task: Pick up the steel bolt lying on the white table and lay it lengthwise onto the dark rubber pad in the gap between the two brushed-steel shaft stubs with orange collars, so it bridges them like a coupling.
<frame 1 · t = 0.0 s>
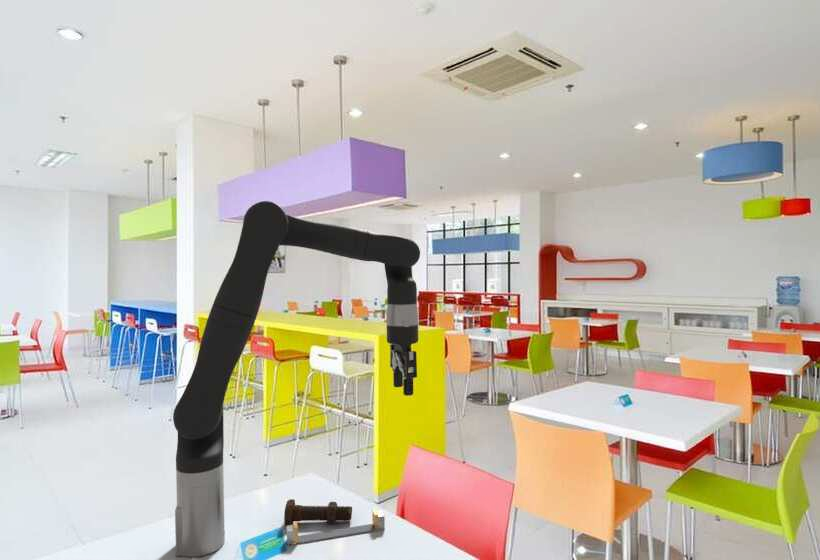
hand: (403, 390, 120), 29 cm above the table, tool pointing down, fingers open, 8 cm apart
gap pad: (336, 534, 111), on the table
bolt: (319, 524, 116), on the table
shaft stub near: (292, 541, 108), on the table
shaft stub far: (378, 527, 114), on the table
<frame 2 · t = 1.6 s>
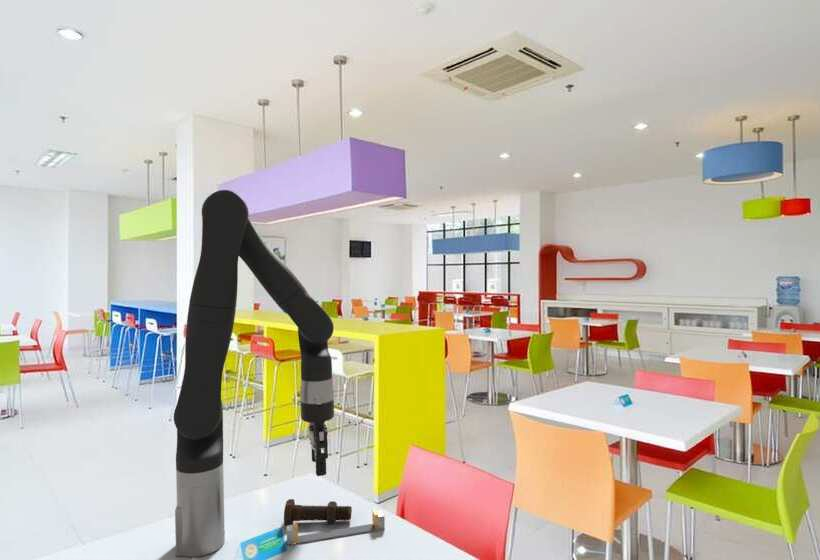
hand: (318, 467, 116), 13 cm above the table, tool pointing down, fingers open, 8 cm apart
nothing on the table moved.
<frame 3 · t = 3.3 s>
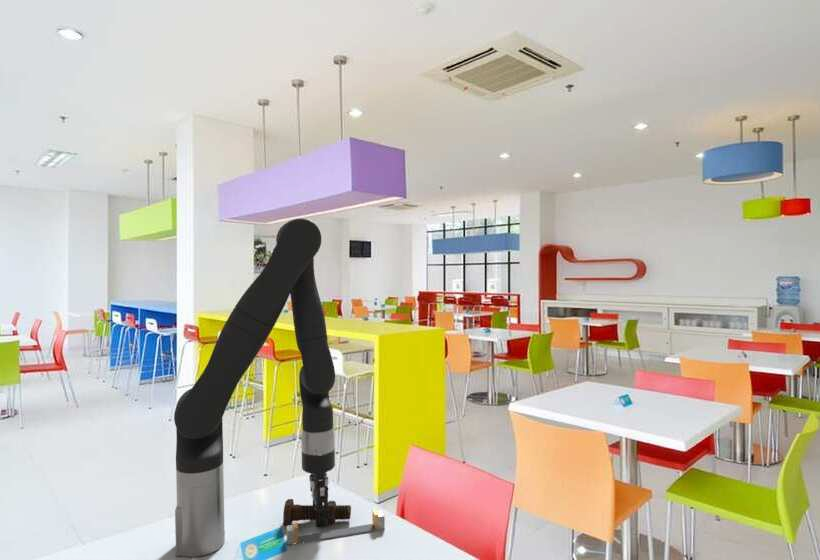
hand: (319, 519, 116), 1 cm above the table, tool pointing down, fingers closed on bolt, 5 cm apart
bolt: (318, 523, 116), on the table, touching gripper
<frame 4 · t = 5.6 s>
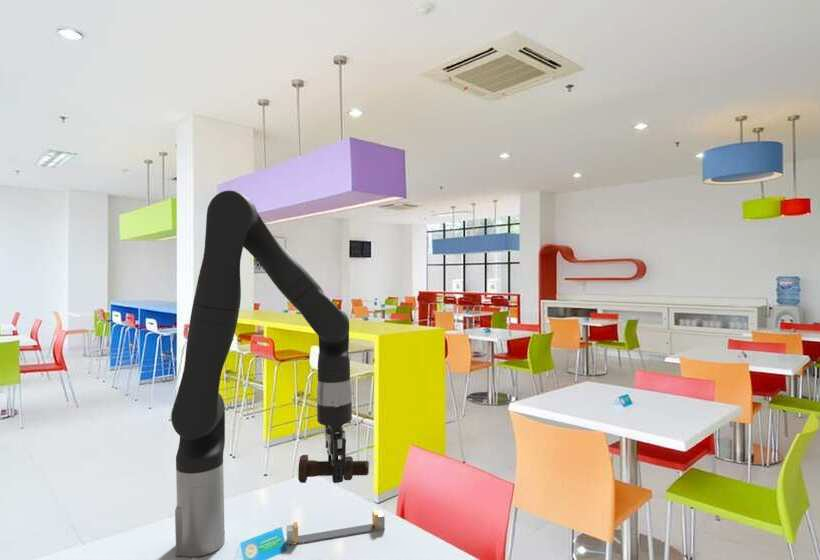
hand: (335, 476, 110), 13 cm above the table, tool pointing down, fingers closed on bolt, 5 cm apart
bolt: (334, 479, 110), point 12 cm above the table, touching gripper
when the fingers open (2 cm above the table, at t = 7.9 s): bolt drops 1 cm, resting on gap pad.
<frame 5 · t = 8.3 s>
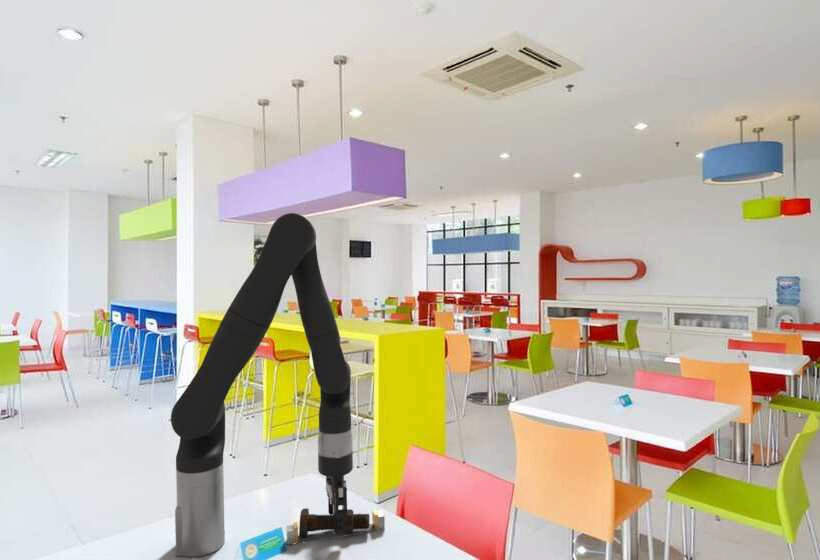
hand: (336, 522, 111), 3 cm above the table, tool pointing down, fingers open, 8 cm apart
bolt: (335, 533, 111), resting on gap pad
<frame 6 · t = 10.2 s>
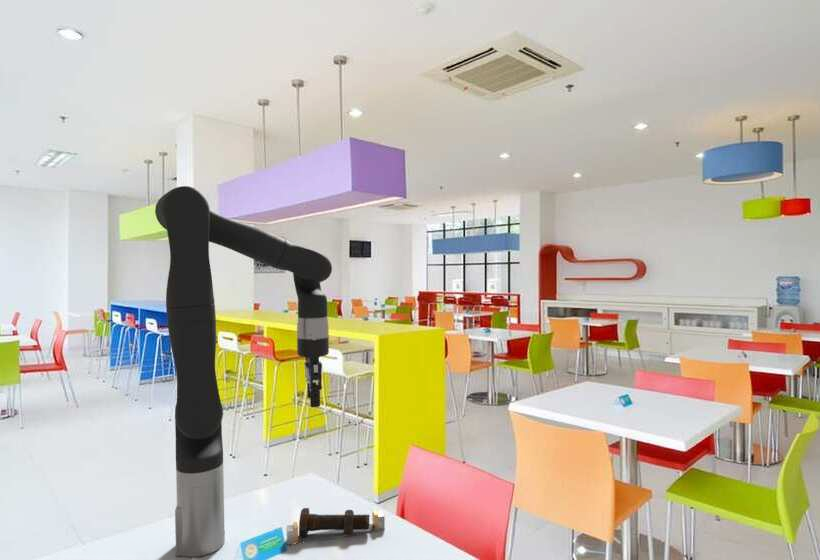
hand: (313, 402, 122), 26 cm above the table, tool pointing down, fingers open, 8 cm apart
nothing on the table moved.
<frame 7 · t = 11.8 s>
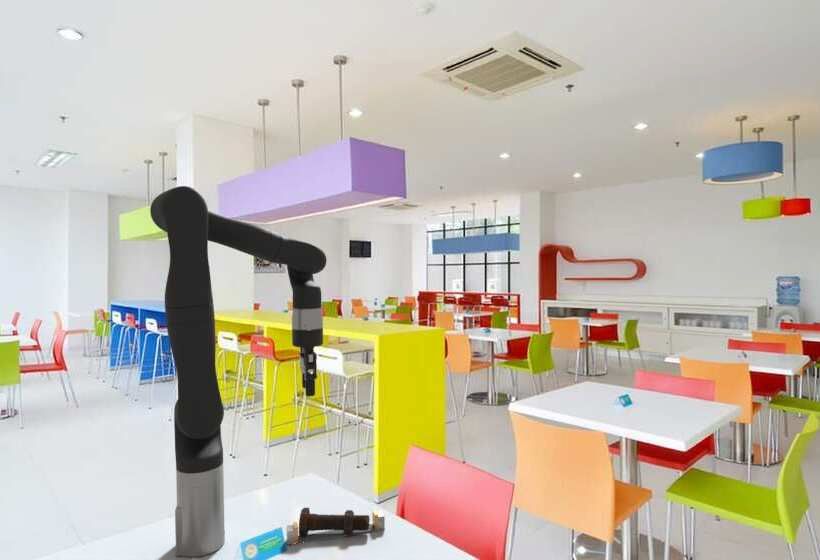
hand: (308, 391, 125), 28 cm above the table, tool pointing down, fingers open, 8 cm apart
nothing on the table moved.
at the end: bolt 0.3 cm from the target spot, on the table; the gripper is holding nothing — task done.
